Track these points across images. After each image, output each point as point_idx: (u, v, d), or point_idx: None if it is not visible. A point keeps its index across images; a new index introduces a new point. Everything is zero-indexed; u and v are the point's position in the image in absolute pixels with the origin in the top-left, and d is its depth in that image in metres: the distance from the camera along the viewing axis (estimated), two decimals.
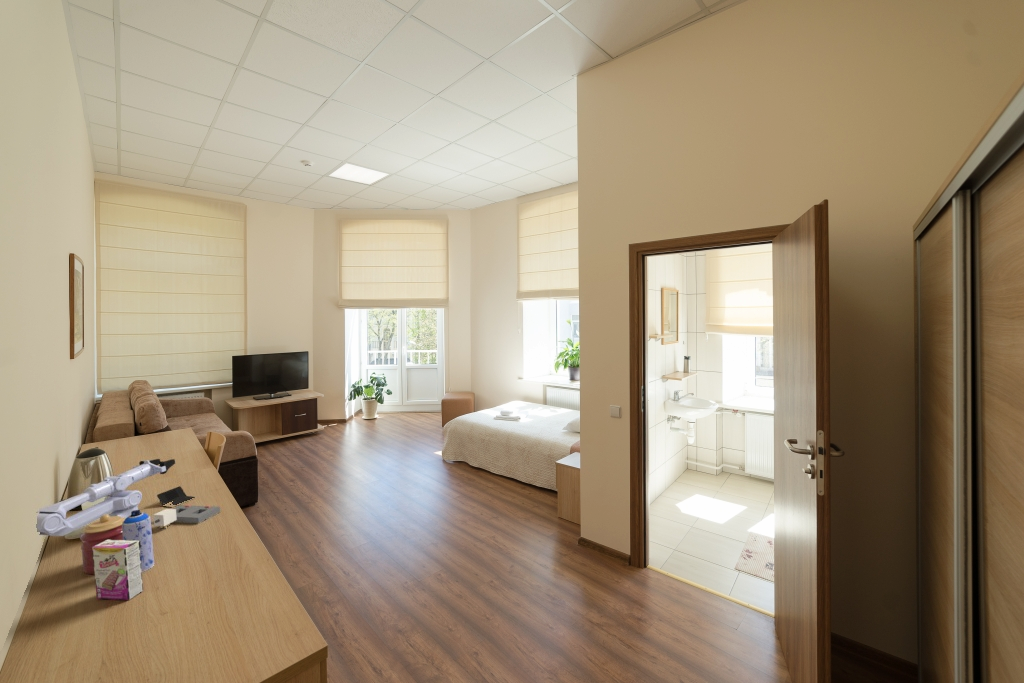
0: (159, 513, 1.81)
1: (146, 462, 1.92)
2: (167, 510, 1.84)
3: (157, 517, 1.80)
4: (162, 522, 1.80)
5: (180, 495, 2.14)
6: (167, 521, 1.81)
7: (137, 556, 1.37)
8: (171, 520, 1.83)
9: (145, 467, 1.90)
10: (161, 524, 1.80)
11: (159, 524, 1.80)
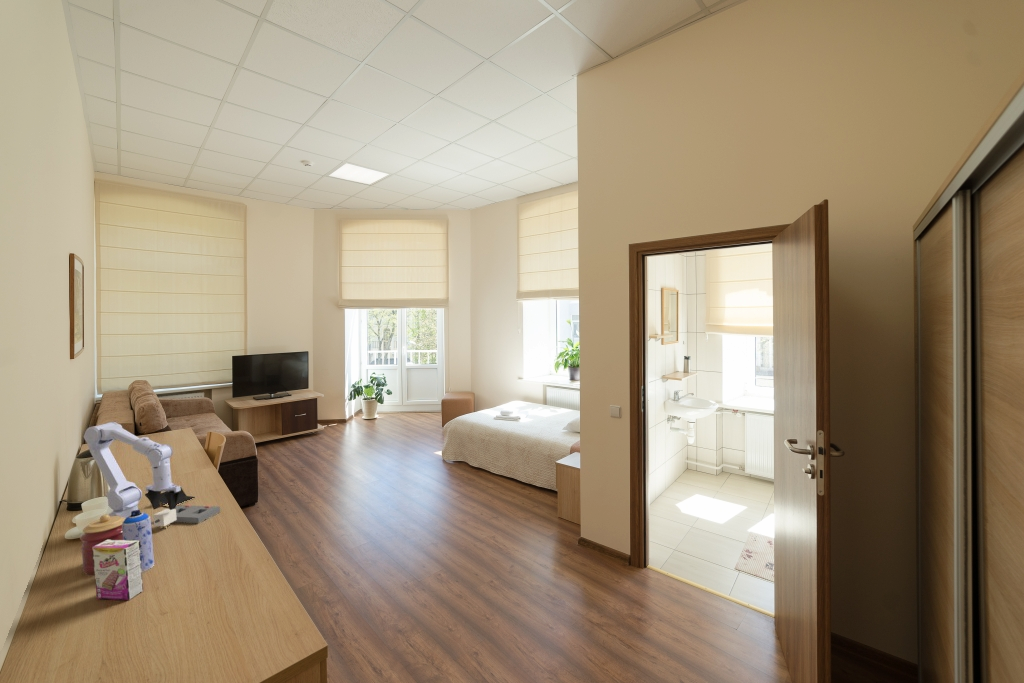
0: (159, 513, 1.81)
1: None
2: (167, 510, 1.84)
3: (157, 517, 1.80)
4: (162, 522, 1.80)
5: (180, 495, 2.14)
6: (167, 521, 1.81)
7: (137, 556, 1.37)
8: (171, 520, 1.83)
9: None
10: (161, 524, 1.80)
11: (159, 524, 1.80)
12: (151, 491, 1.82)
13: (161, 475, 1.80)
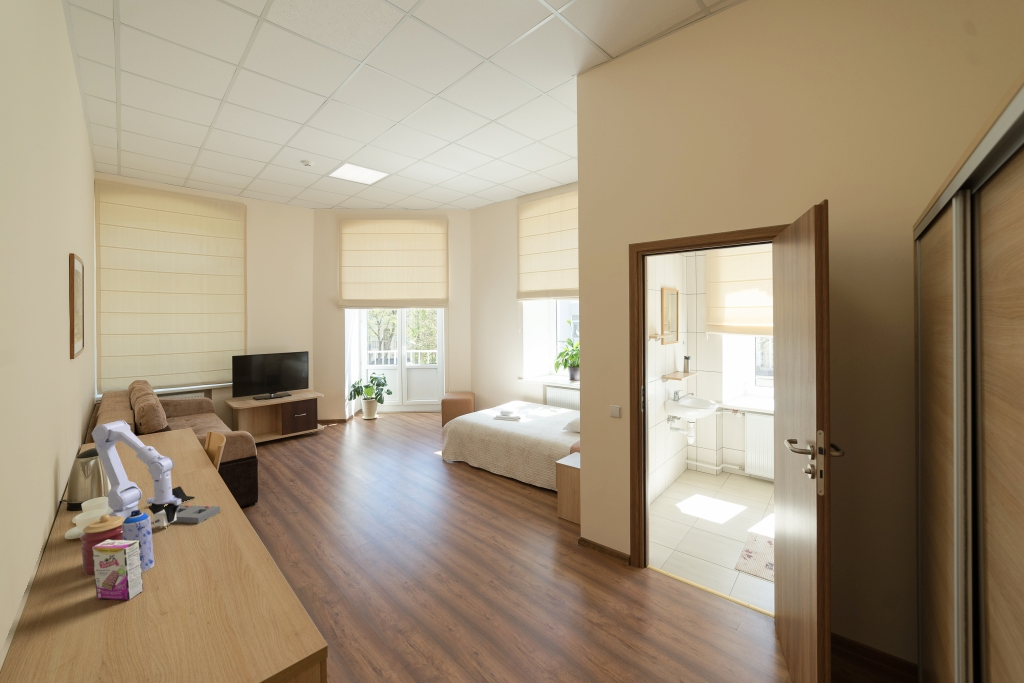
0: (159, 513, 1.81)
1: (171, 496, 1.86)
2: None
3: (157, 517, 1.80)
4: (162, 522, 1.80)
5: (180, 495, 2.14)
6: (167, 521, 1.81)
7: (137, 556, 1.37)
8: None
9: None
10: (161, 524, 1.80)
11: (159, 524, 1.80)
12: (152, 504, 1.82)
13: (162, 488, 1.80)
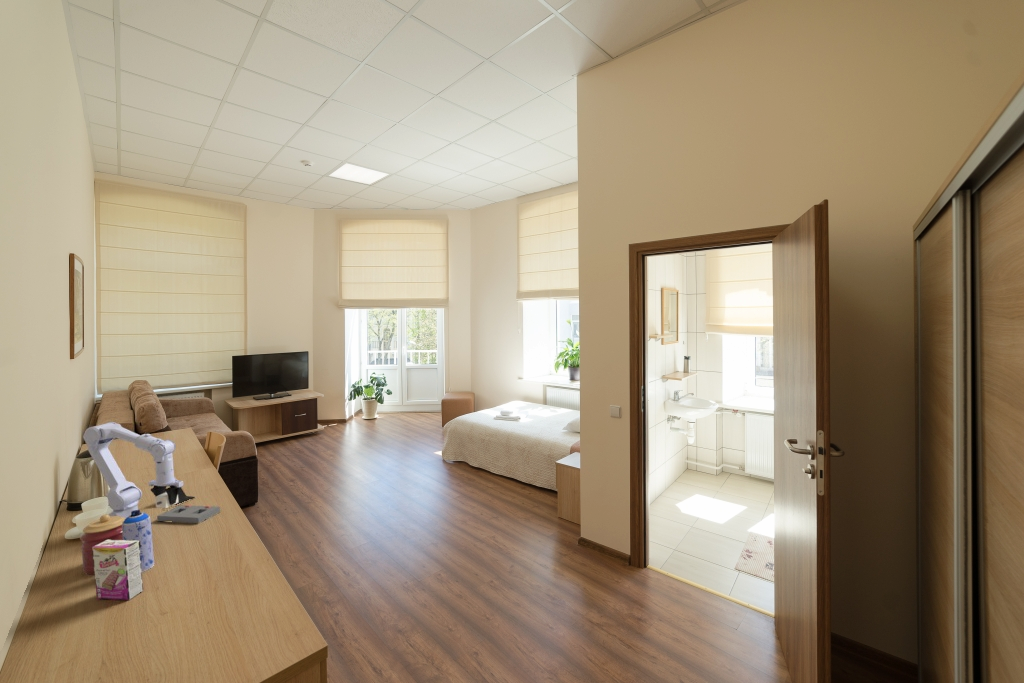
0: (161, 495, 1.82)
1: None
2: None
3: (159, 499, 1.81)
4: (164, 504, 1.80)
5: (180, 495, 2.14)
6: (168, 503, 1.81)
7: (137, 556, 1.37)
8: None
9: (173, 474, 1.84)
10: (163, 506, 1.80)
11: (161, 506, 1.81)
12: (154, 486, 1.83)
13: (164, 470, 1.80)
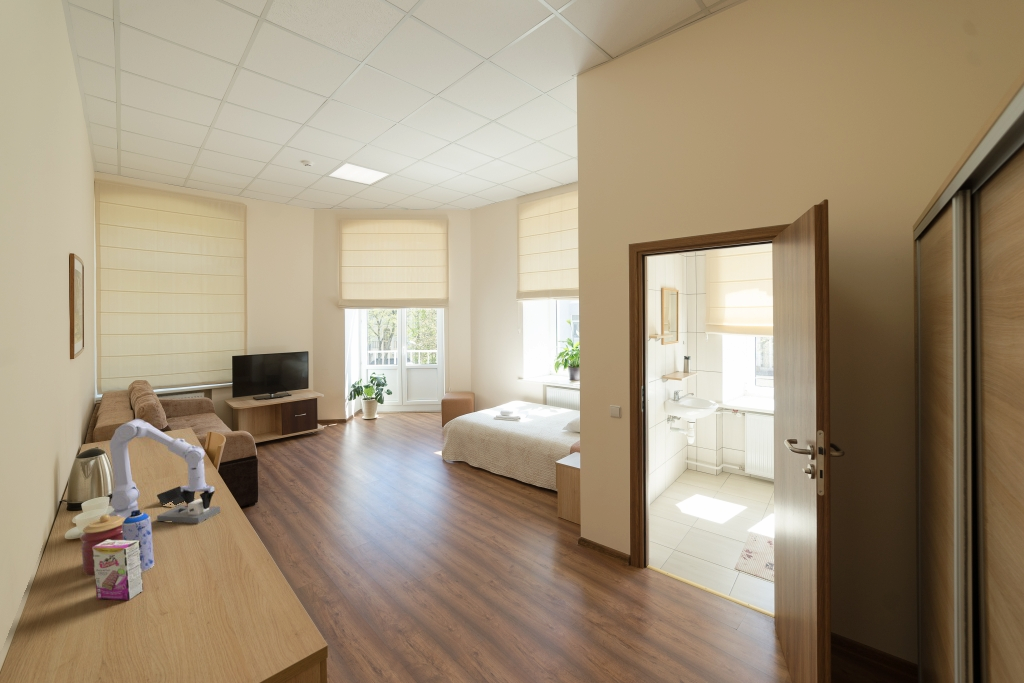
0: (193, 502, 1.90)
1: None
2: (200, 500, 1.93)
3: (191, 506, 1.89)
4: (196, 511, 1.89)
5: (180, 495, 2.14)
6: (200, 510, 1.90)
7: (137, 556, 1.37)
8: (204, 509, 1.92)
9: None
10: (195, 513, 1.89)
11: (193, 513, 1.89)
12: (186, 491, 1.91)
13: (199, 475, 1.89)
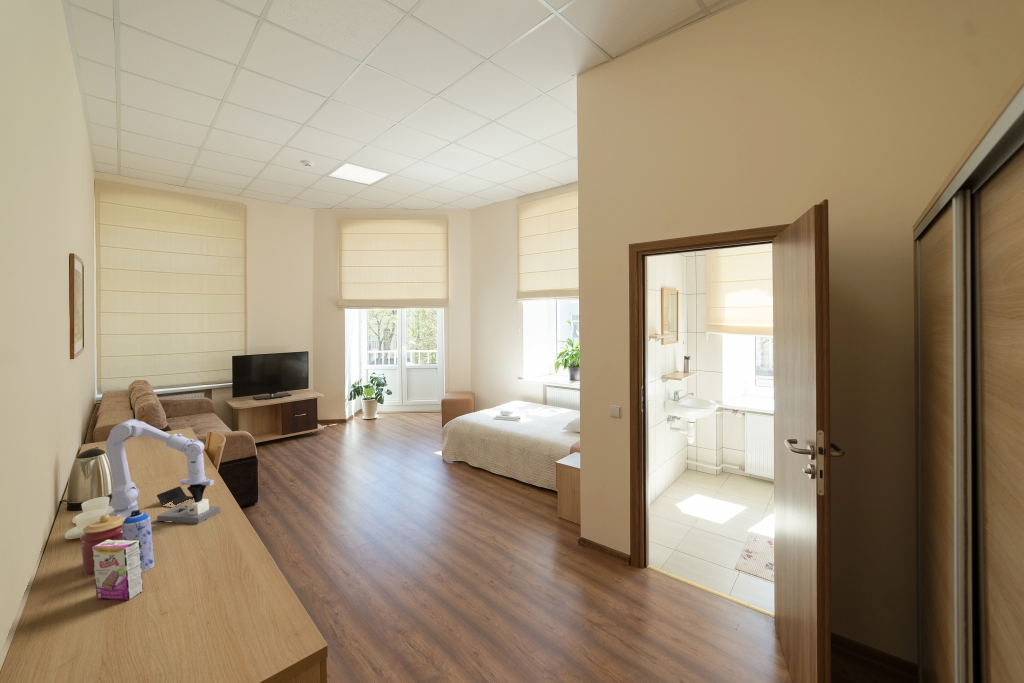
0: (193, 502, 1.90)
1: None
2: None
3: (191, 506, 1.89)
4: (196, 511, 1.89)
5: (180, 495, 2.14)
6: (200, 510, 1.90)
7: (137, 556, 1.37)
8: (204, 509, 1.92)
9: (204, 473, 1.93)
10: (195, 513, 1.89)
11: (193, 513, 1.89)
12: None
13: (199, 469, 1.89)
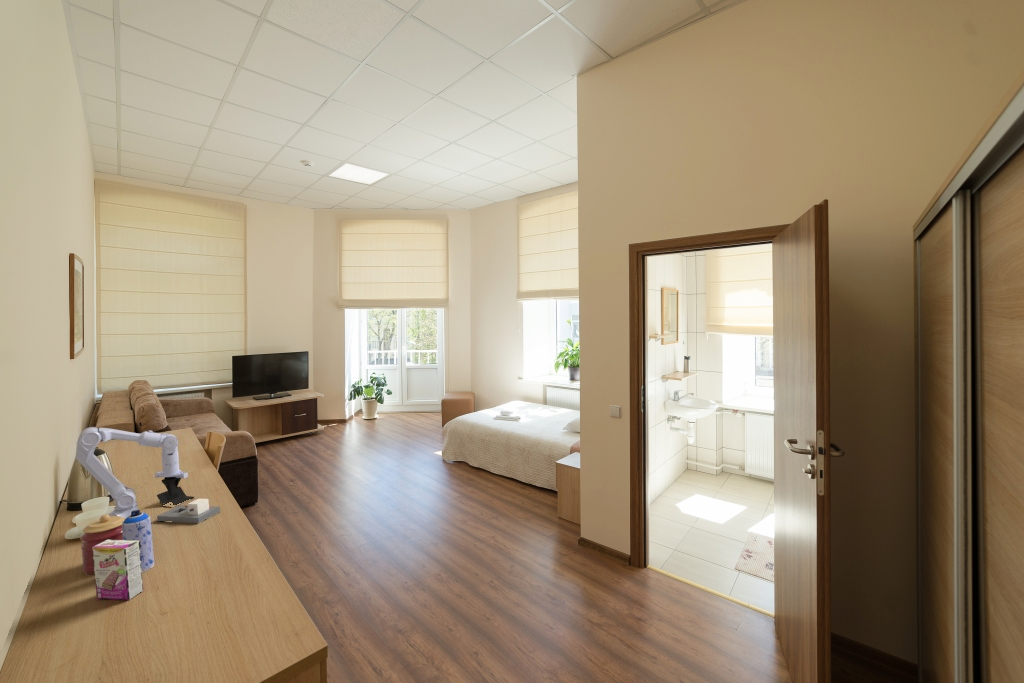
0: (193, 502, 1.90)
1: (178, 470, 1.96)
2: (200, 500, 1.93)
3: (191, 506, 1.89)
4: (196, 511, 1.89)
5: (180, 495, 2.14)
6: (200, 510, 1.90)
7: (137, 556, 1.37)
8: (204, 509, 1.92)
9: None
10: (195, 513, 1.89)
11: (193, 513, 1.89)
12: None
13: (176, 461, 1.92)
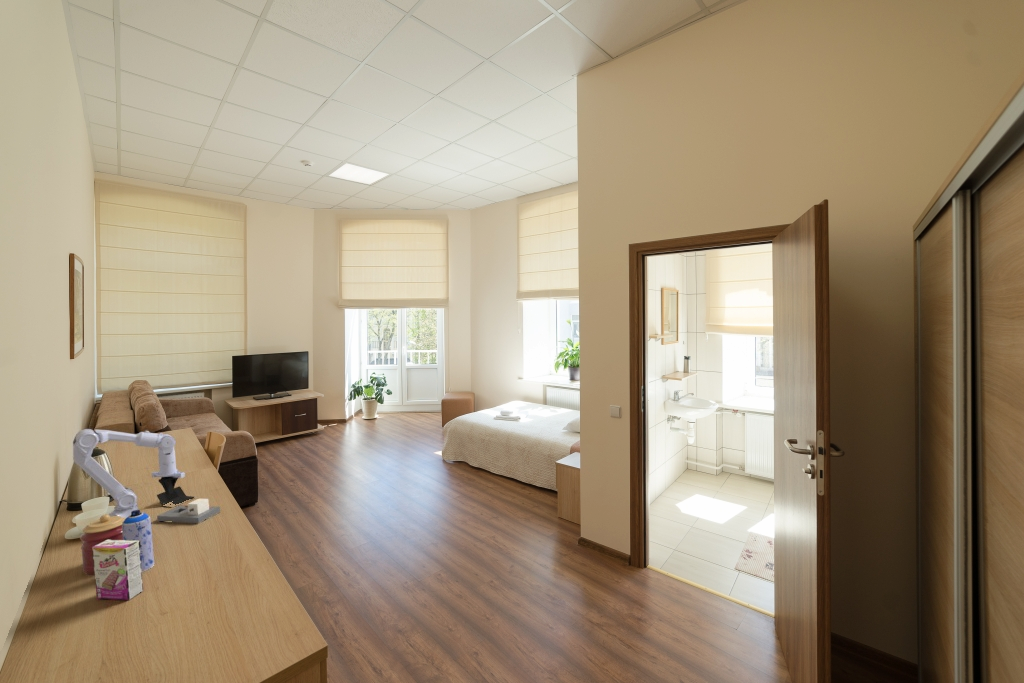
0: (193, 502, 1.90)
1: None
2: (200, 500, 1.93)
3: (191, 506, 1.89)
4: (196, 511, 1.89)
5: (180, 495, 2.14)
6: (200, 510, 1.90)
7: (137, 556, 1.37)
8: (204, 509, 1.92)
9: None
10: (195, 513, 1.89)
11: (193, 513, 1.89)
12: None
13: (173, 460, 1.93)
